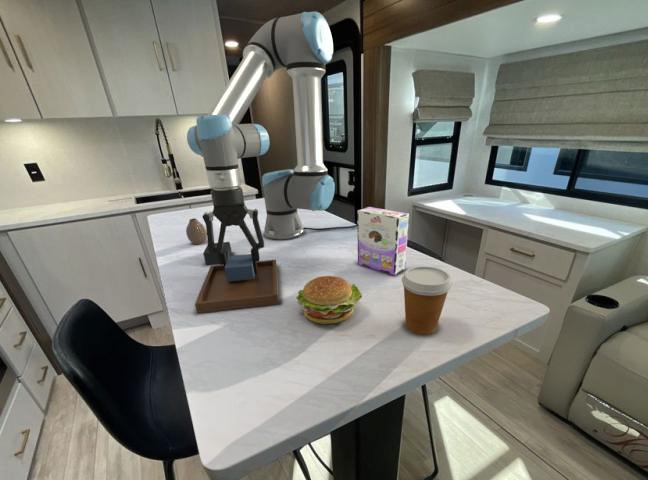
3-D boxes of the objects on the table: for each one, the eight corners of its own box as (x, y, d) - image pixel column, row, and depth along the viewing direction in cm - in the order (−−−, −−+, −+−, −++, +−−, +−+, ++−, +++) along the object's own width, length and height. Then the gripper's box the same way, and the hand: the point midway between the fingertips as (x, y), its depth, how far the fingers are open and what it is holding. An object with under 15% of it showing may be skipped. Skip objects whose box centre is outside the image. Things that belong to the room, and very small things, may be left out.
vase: (209, 243, 118) (204, 220, 114) (189, 246, 115) (183, 223, 111) (207, 238, 123) (202, 215, 119) (188, 241, 121) (182, 218, 117)
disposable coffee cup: (415, 344, 62) (422, 290, 56) (389, 320, 70) (392, 270, 64) (454, 332, 65) (464, 279, 59) (425, 310, 73) (431, 262, 67)
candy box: (405, 269, 93) (410, 212, 85) (394, 276, 89) (398, 217, 81) (368, 258, 101) (369, 205, 93) (356, 263, 97) (356, 209, 89)
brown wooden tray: (277, 266, 97) (276, 259, 96) (278, 304, 78) (277, 295, 76) (212, 273, 95) (210, 265, 93) (197, 313, 75) (194, 304, 74)
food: (313, 336, 66) (310, 303, 62) (291, 305, 77) (288, 275, 73) (370, 319, 70) (371, 287, 66) (342, 292, 82) (342, 263, 78)
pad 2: (255, 266, 94) (253, 253, 92) (254, 279, 86) (251, 265, 84) (231, 268, 93) (228, 255, 91) (227, 281, 85) (224, 268, 83)
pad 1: (231, 252, 109) (229, 241, 107) (229, 262, 101) (226, 251, 99) (210, 254, 108) (208, 243, 106) (206, 265, 100) (203, 253, 98)
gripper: (179, 192, 73) (202, 282, 85) (267, 187, 76) (278, 275, 87) (186, 187, 80) (207, 271, 91) (267, 182, 83) (277, 264, 94)
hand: (242, 272), depth 89 cm, fingers closed on pad 2, 7 cm apart
